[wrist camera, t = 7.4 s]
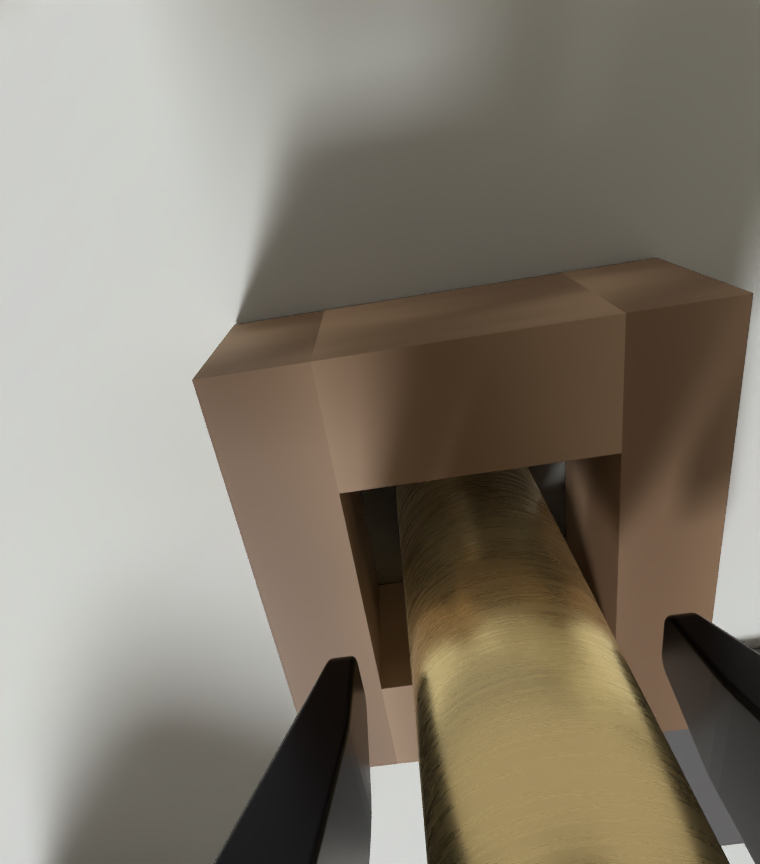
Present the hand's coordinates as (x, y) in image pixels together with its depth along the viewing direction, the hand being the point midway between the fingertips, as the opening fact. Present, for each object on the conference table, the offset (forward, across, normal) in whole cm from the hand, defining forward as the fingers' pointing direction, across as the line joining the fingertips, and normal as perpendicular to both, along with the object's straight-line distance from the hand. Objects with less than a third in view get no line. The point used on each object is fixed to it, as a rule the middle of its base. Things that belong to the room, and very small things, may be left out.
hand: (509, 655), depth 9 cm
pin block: (+5, 0, 0) cm, 5 cm away
